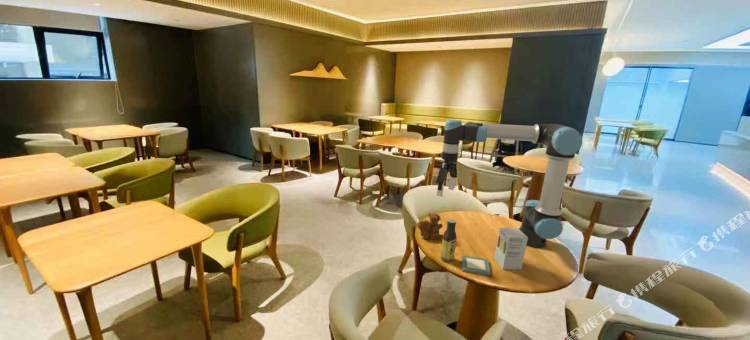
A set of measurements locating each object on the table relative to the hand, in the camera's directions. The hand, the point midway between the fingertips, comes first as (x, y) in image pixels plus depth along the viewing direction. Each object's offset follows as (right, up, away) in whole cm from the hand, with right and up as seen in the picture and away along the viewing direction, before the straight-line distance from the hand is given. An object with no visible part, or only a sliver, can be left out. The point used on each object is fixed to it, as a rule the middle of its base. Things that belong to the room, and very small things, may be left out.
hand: (445, 192), depth 157 cm
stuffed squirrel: (-6, -25, +12) cm, 29 cm away
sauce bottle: (-1, -32, -9) cm, 33 cm away
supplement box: (+27, -33, -10) cm, 44 cm away
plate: (+11, -33, -14) cm, 38 cm away
